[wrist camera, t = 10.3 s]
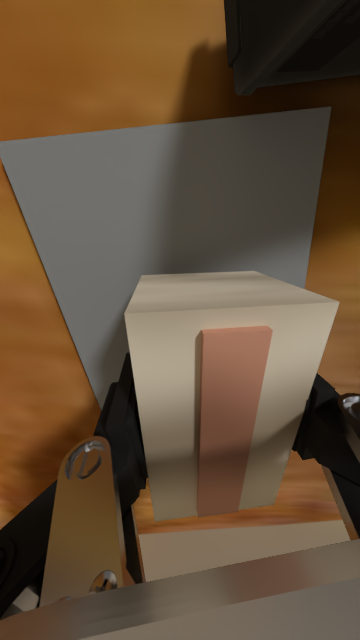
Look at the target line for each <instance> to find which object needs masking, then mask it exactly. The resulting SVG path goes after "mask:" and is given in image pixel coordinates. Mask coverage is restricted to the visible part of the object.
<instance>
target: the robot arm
mask: <svg viewBox="0 0 360 640" xmlns="http://www.w3.org/2000/svg"><path fill="white" fill-rule="evenodd" d="M292 450H293V451H297V452H298V454H299V455H300V457H301V458H302V460H306V459H311V458H315V459H316V461H317V462H318V463H319V464H321V466H322V469H323V472H324V474H325V477H326V479H327V482H328V484H329V487H330V489H331V492H332V494H333V497H334V499H335V502H336V504H337V507H338V509H339V512H340V514H341V517H342V519H343V522H344V524H345V527H346V529H347V532H348V534H349V537H350V539H351V541H346V542H341V543H336V544H331V545H326V546H321V547H317V548H311V549H307V550H301V551H297V552H292V553H287V554H282V555H277V556H272V557H268V558H262V559H257V560H252V561H247V562H242V563H237V564H232V565H227V566H223V567H217V568H213V569H208V570H203V571H198V572H193V573H189V574H184V575H179V576H175V577H170V578H165V579H160V580H155V581H150V582H146V580H145V574H144V568H143V562H142V556H141V549H140V543H139V537H138V531H137V524H136V518H135V512H134V506H133V503H134V502H135V501H136V499H137V498H138V497H139V493H140V490H141V489H146V478H148V472H147V465H146V458H145V451H144V445H143V438H142V431H141V424H140V417H139V411H138V404H137V397H136V390H135V383H134V377H133V370H132V363H131V356H130V352H128V353H126V356H125V360H124V363H123V367H122V370H121V374H120V377H119V381H118V382H113V383H111V385H110V387H109V390H108V393H107V396H106V399H105V402H104V405H103V408H102V411H101V414H100V417H99V420H98V423H97V426H96V429H95V432H94V435H93V436H92V437H89V438H86V439H84V440H82V441H80V442H79V443H77V444H76V445H75V446H74V447H73V448H71V450H70V451H69V452H68V453H67V454H66V456H65V457H64V459H63V461H62V463H61V466H60V469H59V473H58V479H57V480H56V481H55V482H54V483H53V484H52V485H50V486H49V487H48V488H47V489H46V490H45V491H44V492H43V493H41V494H40V495H39V496H38V497H37V498H36V499H35V500H34V501H32V502H31V503H30V504H29V505H28V506H27V507H26V508H25V509H23V510H22V511H21V512H20V513H19V514H18V515H17V516H16V517H14V518H13V519H12V520H11V521H10V522H9V523H8V524H7V525H5V526H4V527H3V528H2V529H1V530H0V640H360V394H356V393H346V394H343V395H339V394H338V393H337V392H336V391H335V388H333V387H332V386H331V385H330V384H329V383H328V382H327V381H325V380H324V379H323V378H322V377H321V376H320V375H319V374H317V373H316V376H315V379H314V382H313V385H312V388H311V391H310V394H309V398H308V400H306V404H305V409H304V413H303V416H302V419H301V422H300V425H299V428H298V431H297V434H296V437H295V440H294V444H293V447H292Z"/></svg>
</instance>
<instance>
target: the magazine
mask: <svg viewBox="0 0 360 640" xmlns="http://www.w3.org/2000/svg"><path fill="white" fill-rule="evenodd" d="M224 9H225V24H226V39H227V54H228V66H229V67H233V72H234V89H235V93H236V94H238V95H251V94H252V93H253V92H254V91H255V90H256V89H257V88H259V87H267V86H275V85H283V84H291V83H299V82H307V81H315V80H323V79H331V78H339V77H347V76H355V75H360V0H224Z"/></svg>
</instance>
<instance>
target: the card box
mask: <svg viewBox="0 0 360 640" xmlns="http://www.w3.org/2000/svg"><path fill="white" fill-rule="evenodd" d="M338 306H339V302H338V301H335V300H333V299H330V298H327V297H324V296H322V295H319V294H316V293H314V292H311V291H308V290H305V289H303V288H300V287H297V286H294V285H292V284H289V283H286V282H283V281H281V280H278V279H275V278H273V277H270V276H267V275H264V274H262V273H259V272H256V271H237V272H211V273H185V274H159V275H142V276H141V278H140V280H139V282H138V285H137V287H136V289H135V291H134V293H133V296H132V298H131V300H130V302H129V304H128V307H127V309H126V311H125V313H124V315H125V322H126V329H127V336H128V343H129V349H130V356H131V363H132V370H133V377H134V383H135V390H136V397H137V404H138V411H139V417H140V424H141V431H142V438H143V445H144V451H145V458H146V465H147V472H148V479H149V485H150V492H151V499H152V506H153V513H154V519H155V521H161V520H169V519H176V518H183V517H190V516H197V515H198V517H205V516H212V515H219V514H226V513H233V512H238V510H240V509H247V508H254V507H261V506H268V505H274V502H275V499H276V496H277V493H278V490H279V486H280V483H281V480H282V477H283V474H284V471H285V468H286V465H287V462H288V459H289V456H290V453H291V450H292V447H293V444H294V440H295V437H296V434H297V431H298V428H299V425H300V422H301V419H302V416H303V413H304V409H305V404H306V400H308V398H309V394H310V391H311V388H312V385H313V382H314V379H315V376H316V373H317V370H318V367H319V364H320V361H321V358H322V355H323V352H324V348H325V345H326V342H327V339H328V336H329V333H330V330H331V327H332V324H333V321H334V318H335V315H336V312H337V309H338Z"/></svg>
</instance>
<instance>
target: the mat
mask: <svg viewBox="0 0 360 640" xmlns="http://www.w3.org/2000/svg"><path fill="white" fill-rule="evenodd" d="M330 113H331V107H322V108H312V109H303V110H294V111H284V112H275V113H265V114H256V115H246V116H237V117H228V118H218V119H209V120H199V121H190V122H181V123H171V124H162V125H152V126H143V127H134V128H124V129H115V130H105V131H96V132H87V133H77V134H68V135H58V136H49V137H40V138H30V139H21V140H11V141H2V142H0V158H1V160H2V163H3V165H4V168H5V170H6V173H7V175H8V178H9V180H10V183H11V185H12V188H13V190H14V193H15V195H16V198H17V200H18V203H19V205H20V208H21V210H22V213H23V215H24V218H25V220H26V223H27V225H28V228H29V230H30V233H31V235H32V238H33V240H34V243H35V245H36V248H37V250H38V253H39V255H40V258H41V261H42V263H43V266H44V268H45V271H46V273H47V276H48V278H49V281H50V283H51V286H52V288H53V291H54V293H55V296H56V298H57V301H58V303H59V306H60V308H61V311H62V313H63V316H64V318H65V321H66V323H67V326H68V328H69V331H70V333H71V336H72V338H73V341H74V343H75V346H76V348H77V351H78V353H79V356H80V359H81V361H82V364H83V366H84V369H85V371H86V374H87V376H88V379H89V381H90V384H91V386H92V389H93V391H94V394H95V396H96V399H97V401H98V404H99V406H100V409H101V411H102V408H103V405H104V402H105V399H106V396H107V393H108V390H109V387H110V385H111V383H113V382H118V381H119V377H120V374H121V370H122V367H123V363H124V360H125V356H126V353H128V352H130V349H129V343H128V336H127V329H126V322H125V315H124V313H125V311H126V309H127V307H128V304H129V302H130V300H131V298H132V296H133V293H134V291H135V289H136V287H137V285H138V282H139V280H140V278H141V276H142V275H159V274H185V273H211V272H237V271H256V272H259V273H262V274H264V275H267V276H270V277H273V278H275V279H278V280H281V281H283V282H286V283H289V284H292V285H294V286H297V287H300V288H303V289H304V287H305V281H306V274H307V267H308V260H309V254H310V247H311V240H312V234H313V227H314V220H315V214H316V207H317V200H318V193H319V187H320V180H321V173H322V167H323V160H324V153H325V146H326V140H327V133H328V126H329V120H330Z"/></svg>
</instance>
